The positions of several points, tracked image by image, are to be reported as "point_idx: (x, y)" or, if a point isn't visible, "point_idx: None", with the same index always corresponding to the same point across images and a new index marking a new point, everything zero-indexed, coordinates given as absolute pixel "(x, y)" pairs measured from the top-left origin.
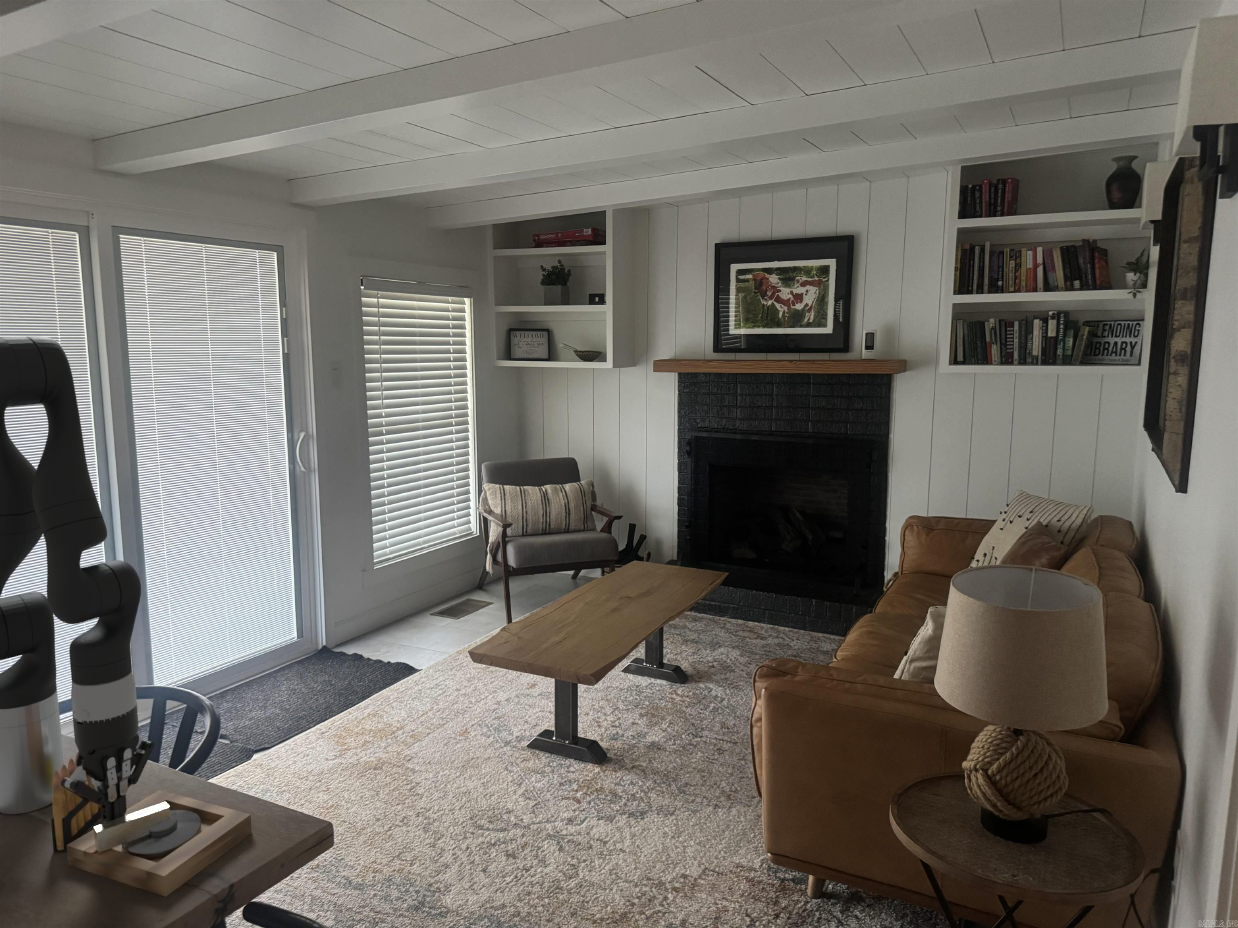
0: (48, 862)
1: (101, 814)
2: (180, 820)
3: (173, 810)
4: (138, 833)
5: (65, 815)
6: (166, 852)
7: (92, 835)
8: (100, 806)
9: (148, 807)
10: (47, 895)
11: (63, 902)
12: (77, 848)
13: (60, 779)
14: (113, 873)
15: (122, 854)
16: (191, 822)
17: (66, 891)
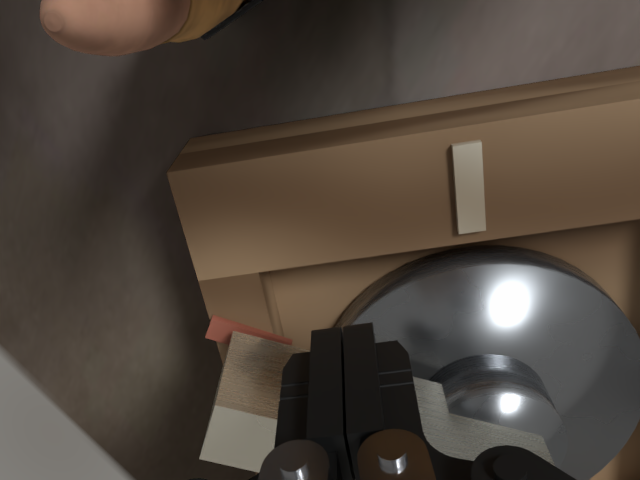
0: None
1: (282, 387)
2: (569, 409)
3: (626, 319)
4: None
5: (219, 24)
6: None
7: (288, 198)
8: (277, 426)
9: (600, 202)
10: (59, 261)
11: (86, 341)
12: (190, 241)
13: (133, 50)
14: None
15: None
16: (575, 452)
17: (116, 295)
